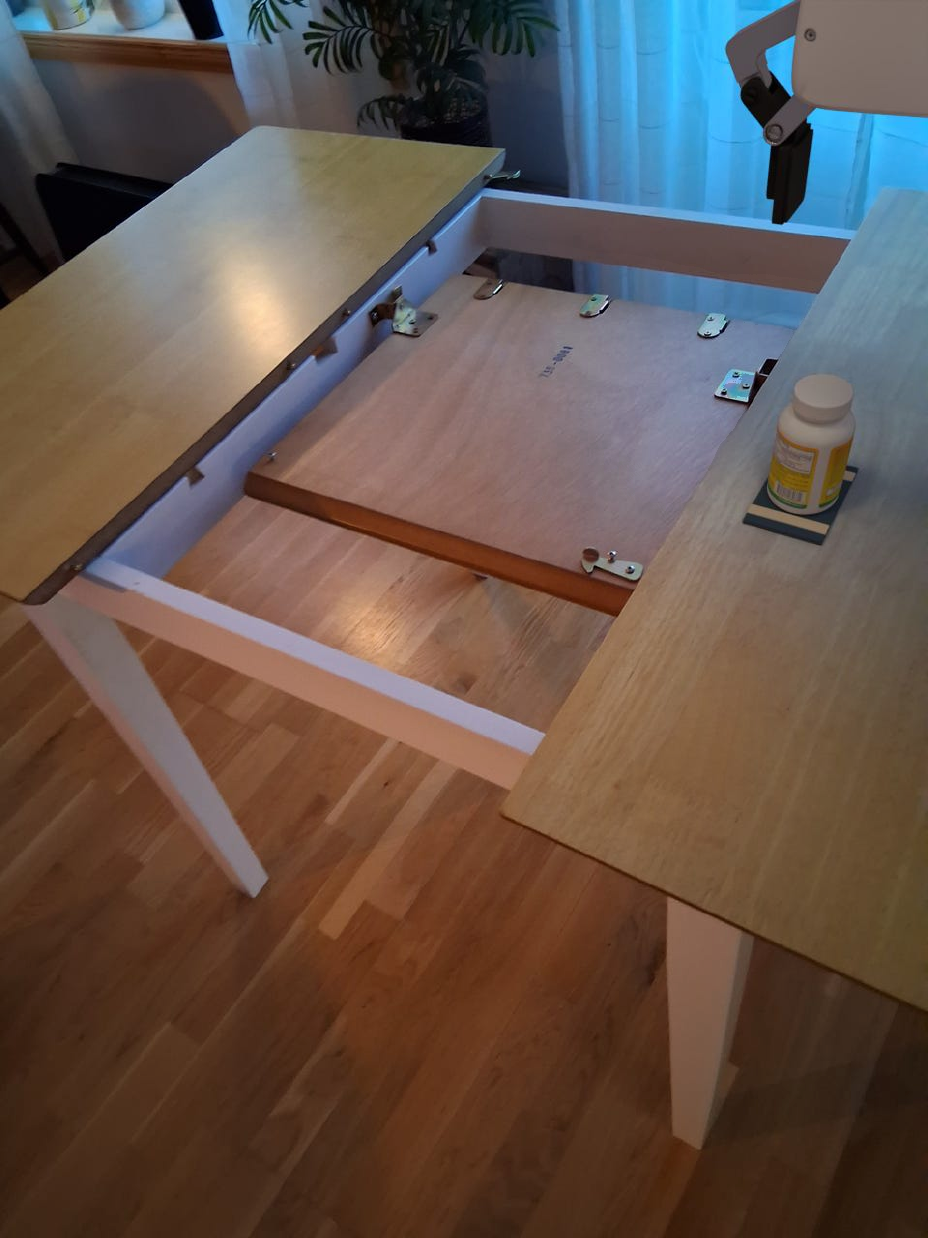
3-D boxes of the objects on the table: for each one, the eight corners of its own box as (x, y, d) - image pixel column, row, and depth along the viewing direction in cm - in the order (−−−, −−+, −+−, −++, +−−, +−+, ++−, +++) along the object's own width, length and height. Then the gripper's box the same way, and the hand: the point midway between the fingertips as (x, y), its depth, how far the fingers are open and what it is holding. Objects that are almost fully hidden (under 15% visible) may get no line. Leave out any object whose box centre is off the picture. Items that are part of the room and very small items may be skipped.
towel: (857, 471, 73) (859, 466, 73) (820, 545, 69) (821, 540, 68) (783, 452, 76) (783, 448, 75) (742, 523, 71) (743, 518, 71)
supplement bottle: (774, 519, 70) (791, 416, 63) (760, 474, 74) (775, 371, 67) (847, 513, 70) (873, 409, 63) (829, 468, 73) (852, 364, 66)
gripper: (1256, -261, 33) (1085, 212, 45) (777, -220, 41) (745, 175, 53) (1231, -213, 29) (1052, 288, 42) (709, -177, 37) (692, 236, 49)
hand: (880, 224), depth 47 cm, fingers open, 9 cm apart
